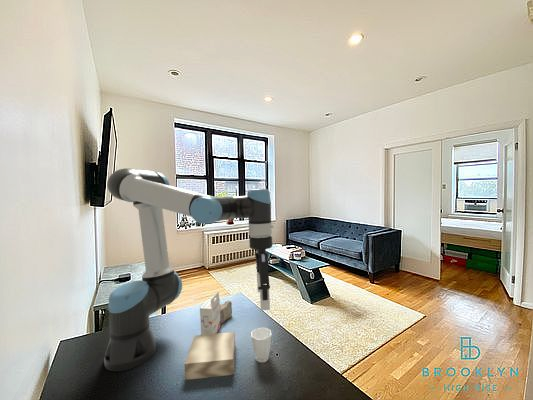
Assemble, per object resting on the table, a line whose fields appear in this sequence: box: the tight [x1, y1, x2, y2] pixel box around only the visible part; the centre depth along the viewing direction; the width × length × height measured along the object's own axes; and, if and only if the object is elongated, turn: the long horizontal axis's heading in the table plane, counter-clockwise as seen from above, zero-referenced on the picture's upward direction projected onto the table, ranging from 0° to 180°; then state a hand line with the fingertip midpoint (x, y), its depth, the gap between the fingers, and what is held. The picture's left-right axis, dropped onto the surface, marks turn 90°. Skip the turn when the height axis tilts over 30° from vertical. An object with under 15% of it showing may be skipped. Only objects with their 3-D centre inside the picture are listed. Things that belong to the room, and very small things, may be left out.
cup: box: [250, 327, 272, 363], centre depth 76 cm, size 7×10×8 cm
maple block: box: [184, 331, 236, 381], centre depth 75 cm, size 14×14×5 cm
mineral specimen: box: [220, 300, 233, 325], centre depth 100 cm, size 13×7×6 cm, turn 152°
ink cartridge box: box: [199, 291, 221, 335], centre depth 90 cm, size 9×5×15 cm, turn 172°
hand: (263, 299), depth 76 cm, fingers open, 13 cm apart
